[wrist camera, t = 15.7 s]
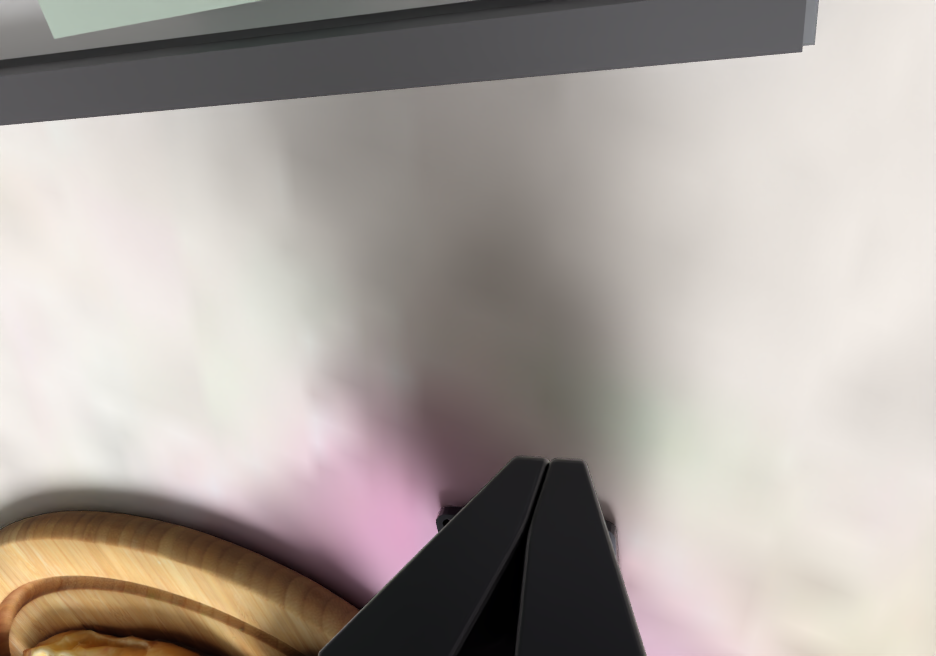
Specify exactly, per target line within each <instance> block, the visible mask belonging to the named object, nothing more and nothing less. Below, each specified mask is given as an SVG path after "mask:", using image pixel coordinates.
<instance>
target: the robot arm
mask: <svg viewBox="0 0 936 656" xmlns="http://www.w3.org/2000/svg"><path fill="white" fill-rule="evenodd" d="M448 519H449V520H448ZM436 525H437V529H438V533H437V534H436V535H435V536H434V537H433V538H432V539H431V540H430V541H429V542H428V543H427V544H426V545H425V546H424V547H423V548H422V549H421V550H420V551H419V552H418V553H417V554H416V555H415V556H414V557H413V558H412V559H411V560H410V561H409V562H408V563H407V564H406V565H405V566H404V567H403V568H402V569H401V570H400V571H399V572H398V573H397V574H396V575H395V576H394V577H393V578H392V579H391V580H390V581H389V582H388V583H387V584H386V585H385V586H384V587H383V588H382V589H381V590H380V591H379V592H378V593H377V594H376V595H375V596H374V597H373V598H372V599H371V600H370V601H369V602H368V603H367V604H366V605H365V606H364V607H363V608H362V609H361V610H360V611H359V612H358V613H357V614H356V615H355V616H354V617H353V618H352V619H351V620H350V621H349V622H348V623H347V624H346V625H345V626H344V627H343V628H342V629H341V630H340V631H339V632H338V633H337V634H336V635H335V636H334V637H333V638H332V639H331V640H330V641H329V642H328V643H327V644H326V645H325V646H324V647H323V648H322V649H321V650H320V651H319V653H318V656H647V655H646V652H645V649H644V646H643V642H642V639H641V636H640V633H639V629H638V626H637V623H636V620H635V617H634V613H633V610H632V607H631V604H630V600H629V597H628V594H627V591H626V588H625V584H624V581H623V578H622V575H621V571H620V568H619V565H618V549H617V531H616V528H615V526H614V525H613V524H612V523H611V522H609V521H607V520H604V517H603V513H602V510H601V507H600V504H599V500H598V497H597V494H596V491H595V487H594V484H593V481H592V478H591V475H590V471H589V468H588V465H587V463H586V462H585V461H584V460H581V459H566V458H554V459H553V460H551V462H550V461H549V460H548V459H547V458H545V457H534V456H516V457H514V458H513V459H512V460H511V461H510V462H509V463H508V464H507V465H506V466H505V467H504V468H503V469H502V470H501V471H500V472H499V473H498V474H497V475H496V476H495V477H494V478H493V479H492V480H491V481H490V482H489V483H488V484H487V485H486V486H485V487H484V488H483V489H482V490H481V491H480V492H479V493H478V494H477V495H476V496H475V497H474V498H473V499H471V500H470V501H469V502H468V503H467V504H466V505H465V506H464V507H451V506H449V507H444V508H441V510H440V511H439V514H438V516H437V519H436Z"/></svg>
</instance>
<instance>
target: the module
mask: <svg viewBox="0 0 936 656" xmlns="http://www.w3.org/2000/svg"><path fill="white" fill-rule="evenodd" d="M256 1H261V0H38V3H39V5H40V7H41V9H42V12H43V14H44V16H45V19H46V21H47V23H48V26H49V28H50V30H51V32H52V35H53V37H54V39H56V38H61V37H67V36H72V35H78V34H83V33H89V32H94V31H99V30H105V29H110V28H116V27H121V26H126V25H132V24H137V23H143V22H148V21H153V20H159V19H164V18H170V17H175V16H180V15H186V14H191V13H197V12H202V11H207V10H213V9H218V8H224V7H229V6H234V5H240V4H245V3H251V2H256Z"/></svg>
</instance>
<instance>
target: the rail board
mask: <svg viewBox="0 0 936 656" xmlns="http://www.w3.org/2000/svg"><path fill="white" fill-rule="evenodd" d="M818 4H819V0H261V1H256V2H251V3H245V4H240V5H234V6H229V7H224V8H218V9H213V10H207V11H202V12H197V13H191V14H186V15H180V16H175V17H170V18H164V19H159V20H153V21H148V22H143V23H137V24H132V25H126V26H121V27H116V28H110V29H105V30H99V31H94V32H89V33H83V34H78V35H72V36H67V37H61V38H56V39H54V37H53V35H52V32H51V30H50V28H49V26H48V23H47V21H46V19H45V16H44V14H43V12H42V9H41V7H40V5H39V3H38V0H0V125H11V124H22V123H33V122H43V121H54V120H65V119H76V118H87V117H98V116H109V115H120V114H131V113H142V112H153V111H163V110H174V109H185V108H196V107H207V106H218V105H229V104H240V103H251V102H262V101H273V100H283V99H294V98H305V97H316V96H327V95H338V94H349V93H360V92H371V91H382V90H393V89H403V88H414V87H425V86H436V85H447V84H458V83H469V82H480V81H491V80H502V79H513V78H523V77H534V76H545V75H556V74H567V73H578V72H589V71H600V70H611V69H622V68H633V67H643V66H654V65H665V64H676V63H687V62H698V61H709V60H720V59H731V58H742V57H752V56H763V55H774V54H785V53H796V52H802V47H803V46H805V45H815V35H816V25H817V14H818Z"/></svg>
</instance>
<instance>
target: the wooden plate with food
mask: <svg viewBox="0 0 936 656" xmlns="http://www.w3.org/2000/svg"><path fill="white" fill-rule="evenodd" d="M359 611H360V610H359V609H357V608H356V607H354V606H353V605H351V604H350V603H348V602H347V601H345V600H343V599H342V598H340V597H339V596H337V595H336V594H334V593H332V592H331V591H329V590H328V589H326V588H324V587H323V586H321V585H319V584H318V583H316V582H314V581H312V580H311V579H309V578H307V577H305V576H303V575H301V574H299V573H297V572H295V571H293V570H291V569H289V568H287V567H285V566H283V565H281V564H279V563H277V562H275V561H273V560H271V559H269V558H266V557H264V556H262V555H260V554H258V553H255V552H253V551H251V550H249V549H246V548H244V547H241V546H238V545H236V544H233V543H231V542H228V541H225V540H223V539H220V538H217V537H215V536H212V535H209V534H207V533H204V532H200V531H197V530H194V529H191V528H187V527H184V526H180V525H176V524H172V523H168V522H164V521H159V520H155V519H150V518H144V517H139V516H133V515H128V514H122V513H111V512H98V511H62V512H54V513H46V514H42V515H38V516H34V517H29V518H26V519H23V520H20V521H17V522H14V523H12V524H10V525H8V526H6V527H4V528H3V529H1V530H0V656H318V653H319V651H320V650H321V649H322V648H323V647H324V646H325V645H326V644H327V643H328V642H329V641H330V640H331V639H332V638H333V637H334V636H335V635H336V634H337V633H338V632H339V631H340V630H341V629H342V628H343V627H344V626H345V625H346V624H347V623H348V622H349V621H350V620H351V619H352V618H353V617H354V616H355V615H356V614H357V613H358V612H359Z"/></svg>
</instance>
